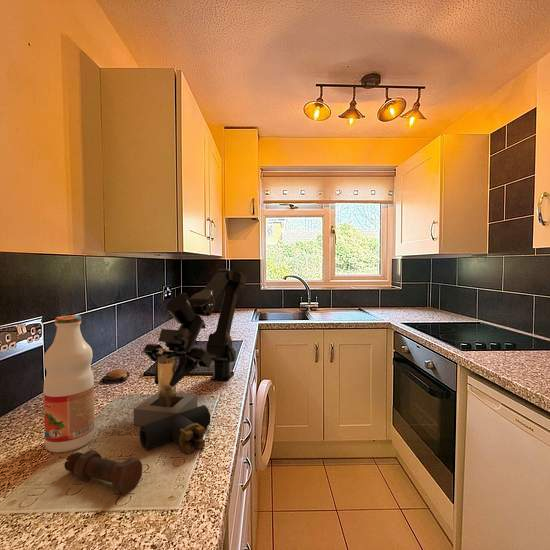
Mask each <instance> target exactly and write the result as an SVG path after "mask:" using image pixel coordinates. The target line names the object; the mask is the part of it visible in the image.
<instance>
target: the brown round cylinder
mask: <svg viewBox="0 0 550 550" xmlns="http://www.w3.org/2000/svg"><path fill="white" fill-rule="evenodd" d="M176 360H177V358H176V356H175V355H173V354H166V355H161V356H158V384H157V392H158V406H161V407H173V406H175V405H176V392H177V384H176V385H175V386H173V387H172V386H171V385H170V384H171V381H172V378H173V376H174V374H175V372H176V369H177V368H176V365H177V363H176V362H177V361H176Z"/></svg>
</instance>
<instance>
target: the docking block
mask: <svg viewBox="0 0 550 550" xmlns="http://www.w3.org/2000/svg"><path fill="white" fill-rule="evenodd" d="M196 407H198V394H197V393H187V392H177V391H176V405H175V406H173V407H161V406H158V391H157V392H155V393H154V394H153V395H151V396H150V397H148V398H147V399H146V400H144V401H143V402H141V403H140V404H139V405H137V406H136V407H134V408H133V426H139V427H141V426H143V425H146V424H149V423H152V422H155V421H158V420H161V419H164V418H166V417H169V416H172V415H175V414H178V413H181V412H184V411H187V410H190V409H193V408H196Z"/></svg>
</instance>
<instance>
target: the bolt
mask: <svg viewBox="0 0 550 550" xmlns="http://www.w3.org/2000/svg"><path fill="white" fill-rule="evenodd" d="M65 460H66V461H65V462H64V466H63V467H64V469H65V470H66V471H68V472H70V473H73V474H74V476H75V477H76V478H77V479H78V480H80V481H83V482H86V481H88V480H90V479H96V480H100V481H104V482H107V483H111V486H112V487H113V489H114V490H115V491H116V492H117V494H119V495H123V496H125V495H127V494H129V493H131V492H132V491H133V490H134V489H135V488H136V487H137V486H138V485H139V483H140V480H141V479H142V475H143V463H142V462H141V461H140V459H138V458H137V457H136V456H132V455H131V456H129V457H128V458H127V459H125V460H123V461H121V462H120V461H116V460H112V459H108V458H103V457H102V455H101V454H100V453H99V452H98V451H97V450H94V449H90V450H87V451H86V452H84V453H82V452H79V451H78V452H74V453H72V454H70V455H68V456H67V457H66V458H65Z"/></svg>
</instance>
